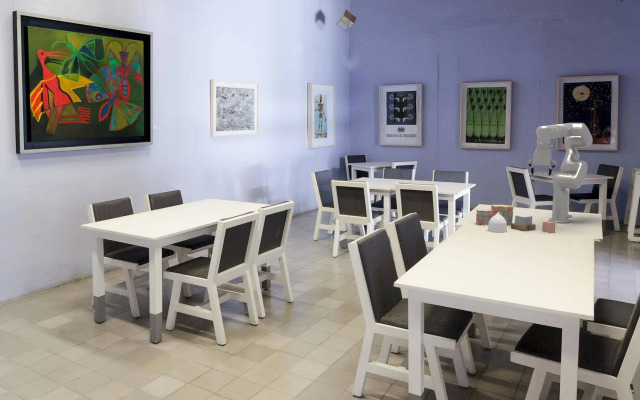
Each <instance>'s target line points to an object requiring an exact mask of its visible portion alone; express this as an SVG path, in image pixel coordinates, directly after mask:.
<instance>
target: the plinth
mask: <svg viewBox="0 0 640 400" xmlns="http://www.w3.org/2000/svg"><path fill="white" fill-rule="evenodd" d="M536 227H537V224H534V223H532V225H525V226H523V225H518V224H515V222H512V223H511V226H510V229H513V230H517V231H521V232H529V231H536Z"/></svg>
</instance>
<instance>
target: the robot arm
mask: <svg viewBox="0 0 640 400" xmlns="http://www.w3.org/2000/svg"><path fill="white" fill-rule="evenodd" d="M535 136H536V137H537V140H536V148H535V149H534V152H533V158H530V159H528V160H526V163H527V165H528V166H529V167H530V174H531V175H532V176H533V175H534V173H535V166H543V167H548V168H549V169H548V176H551V175H552V173H553V169H554V168H555V167H556V166H557V165H558V161H556V160H554V159H553V158H552V149H551V148H553V146H554V145H552V144H551V140H555V139H558V138H564V147H565V155H564V158H563V160H562V163H561V165H560V169H559V170H560V172H558V173H555V174H554V175H553V177H552V187H553V194H552V195H553V196H552V209H551V210H552V211H551V218H548V219H549V220H548V221H551V222H555V223H557V224H569V223H570V222H571V220H570V218H571V219H572V218H573V214H569V207H570V206H569V205H570V193H569V191H568V190H578V189H580V188H581V187H582V185H583V182H584V180H585V177H586V176H587V172H588V167H589V166H588V163H587V162H586V161H585V160H582V159H580V157H581V156H580V152H579V151H578V150H577V148H585V149H586V148H589V147H591V146H592V145H593V139H594V138H593V136H592V134H591V132H590V130H589V128H588V126H587V125H586V124H585V123H584V122H567V123H559V124H557V123H556V124H550V125H547V124H546V125H540V126H538V127H537V128H536V130H535ZM531 162H532V164H531ZM552 163H553V165H552Z"/></svg>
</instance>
